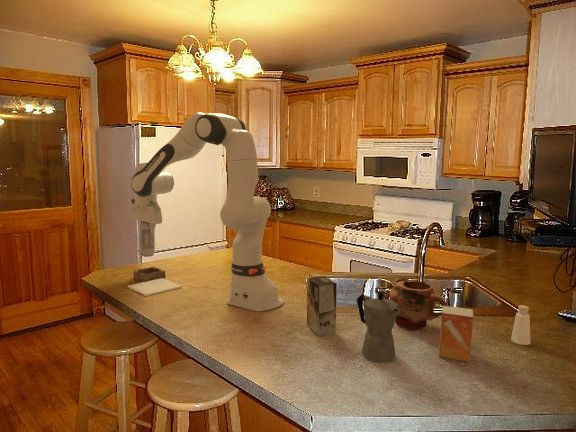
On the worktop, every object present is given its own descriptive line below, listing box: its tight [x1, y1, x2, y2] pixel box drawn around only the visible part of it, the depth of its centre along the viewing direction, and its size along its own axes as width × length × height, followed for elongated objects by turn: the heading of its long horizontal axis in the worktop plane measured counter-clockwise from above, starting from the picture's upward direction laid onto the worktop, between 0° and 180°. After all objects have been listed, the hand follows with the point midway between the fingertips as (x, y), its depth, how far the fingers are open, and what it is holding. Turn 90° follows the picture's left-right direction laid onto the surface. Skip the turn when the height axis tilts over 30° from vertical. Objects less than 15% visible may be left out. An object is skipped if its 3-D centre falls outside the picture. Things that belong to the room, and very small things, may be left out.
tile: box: [127, 278, 183, 297], centre depth 181 cm, size 16×16×1 cm
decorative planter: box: [388, 280, 448, 331], centre depth 141 cm, size 20×12×14 cm, turn 52°
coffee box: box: [306, 275, 337, 337], centre depth 138 cm, size 9×6×16 cm
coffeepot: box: [356, 292, 400, 363], centre depth 121 cm, size 15×9×18 cm, turn 35°
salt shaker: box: [510, 304, 531, 346], centre depth 130 cm, size 5×5×11 cm
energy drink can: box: [139, 222, 156, 258], centre depth 192 cm, size 6×6×15 cm
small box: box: [438, 305, 474, 363], centre depth 121 cm, size 8×6×13 cm
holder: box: [132, 266, 167, 283], centre depth 194 cm, size 10×10×4 cm
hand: (147, 232), depth 191 cm, fingers closed on energy drink can, 6 cm apart
